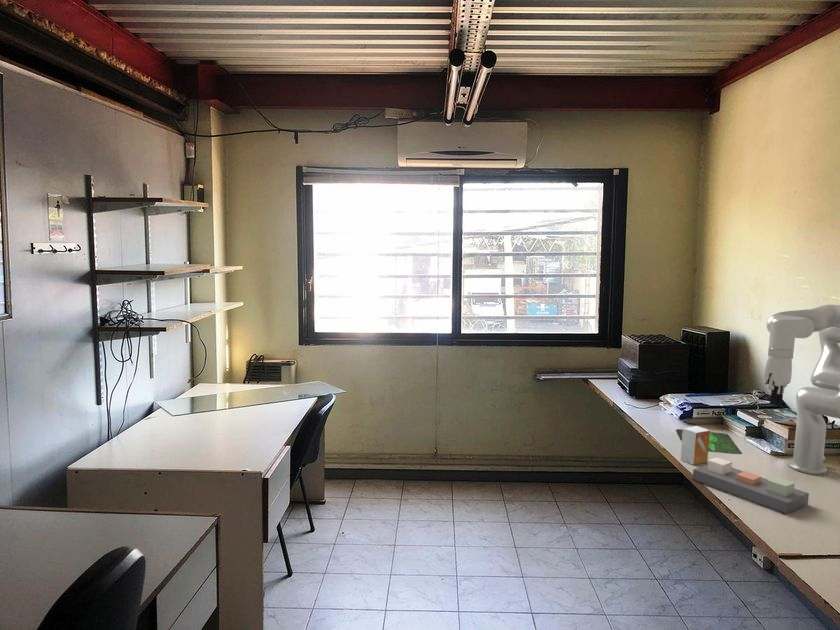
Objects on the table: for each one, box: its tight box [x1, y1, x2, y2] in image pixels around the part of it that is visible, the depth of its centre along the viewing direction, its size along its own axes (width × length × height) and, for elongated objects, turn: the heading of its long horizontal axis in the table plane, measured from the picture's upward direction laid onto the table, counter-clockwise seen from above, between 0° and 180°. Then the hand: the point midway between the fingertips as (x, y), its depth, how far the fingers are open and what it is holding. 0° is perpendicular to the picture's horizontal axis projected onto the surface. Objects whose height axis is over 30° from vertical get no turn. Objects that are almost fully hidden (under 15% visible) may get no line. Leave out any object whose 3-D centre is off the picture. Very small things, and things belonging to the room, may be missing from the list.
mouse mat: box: [675, 428, 743, 455], centre depth 256 cm, size 27×22×1 cm
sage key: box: [767, 476, 795, 497], centre depth 194 cm, size 6×6×5 cm
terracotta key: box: [736, 470, 762, 486], centre depth 203 cm, size 6×6×5 cm
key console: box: [692, 464, 810, 515], centre depth 203 cm, size 14×32×4 cm, turn 33°
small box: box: [679, 425, 711, 466], centre depth 231 cm, size 8×6×13 cm
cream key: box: [707, 456, 733, 475], centre depth 212 cm, size 6×6×5 cm
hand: (775, 404), depth 207 cm, fingers closed
